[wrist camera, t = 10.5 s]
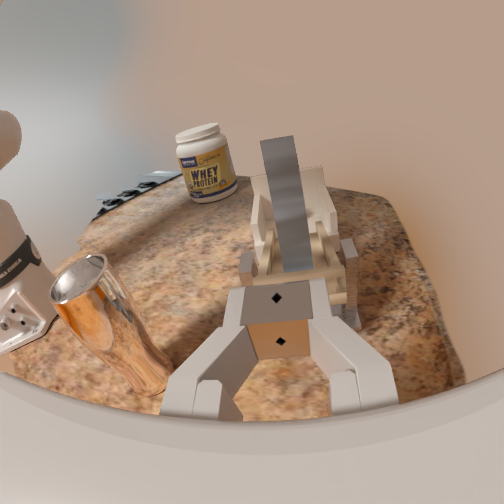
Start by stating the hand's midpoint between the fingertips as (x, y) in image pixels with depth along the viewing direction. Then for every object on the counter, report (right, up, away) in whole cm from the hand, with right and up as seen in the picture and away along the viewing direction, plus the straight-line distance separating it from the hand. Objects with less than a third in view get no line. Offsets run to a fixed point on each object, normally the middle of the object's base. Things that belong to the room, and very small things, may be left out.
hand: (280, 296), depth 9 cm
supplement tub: (-10, +16, +59) cm, 62 cm away
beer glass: (-12, -13, +19) cm, 26 cm away
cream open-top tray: (+6, +4, +36) cm, 37 cm away
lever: (+5, -3, +21) cm, 22 cm away
